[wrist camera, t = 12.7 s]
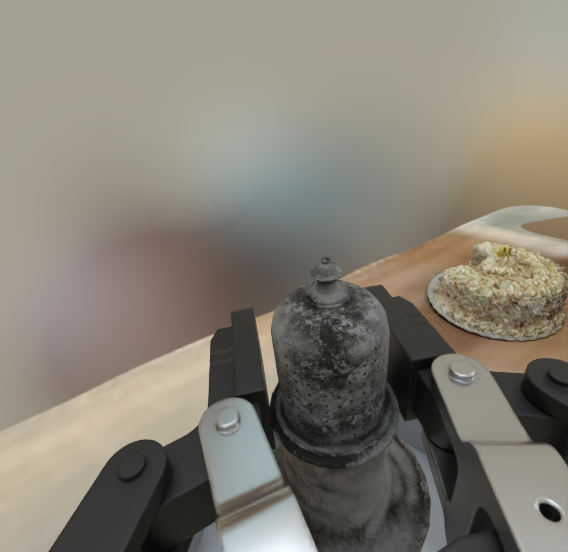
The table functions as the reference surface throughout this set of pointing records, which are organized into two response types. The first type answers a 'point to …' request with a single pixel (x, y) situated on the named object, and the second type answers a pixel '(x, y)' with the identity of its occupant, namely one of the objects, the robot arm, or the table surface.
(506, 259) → the cake
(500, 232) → the table surface
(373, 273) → the table surface
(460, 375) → the robot arm
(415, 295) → the table surface
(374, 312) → the dark grey chess piece
